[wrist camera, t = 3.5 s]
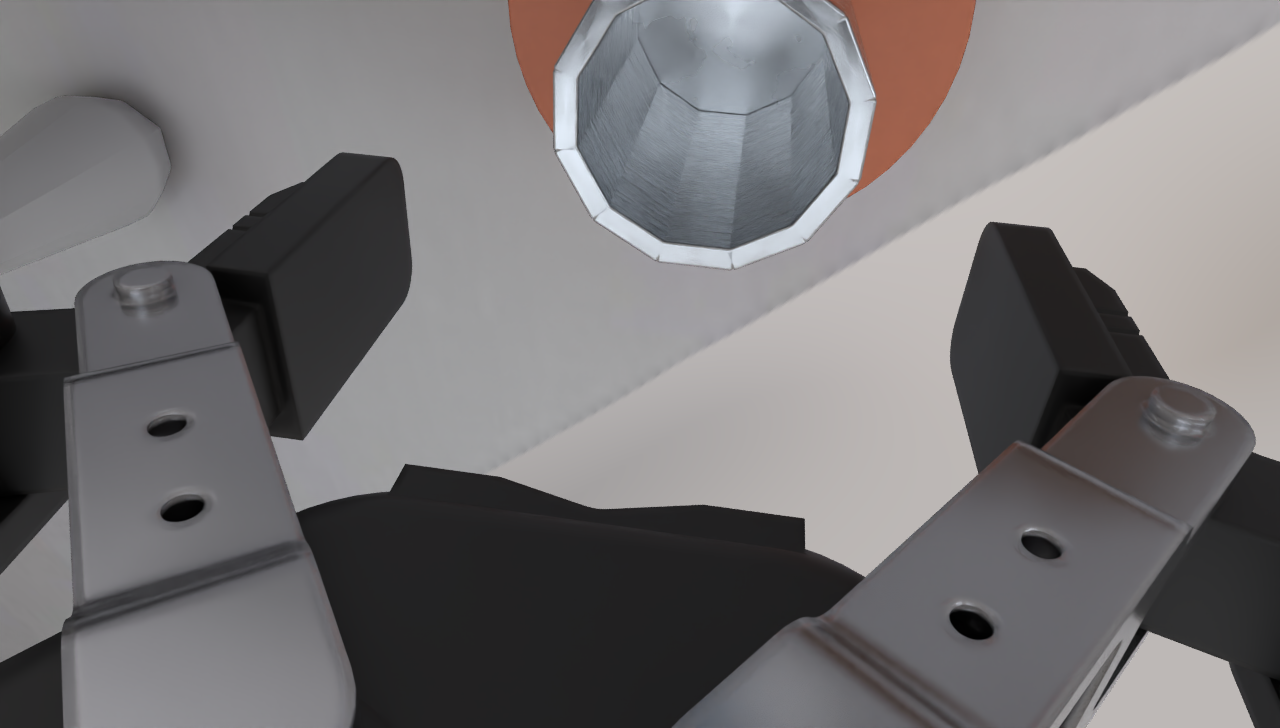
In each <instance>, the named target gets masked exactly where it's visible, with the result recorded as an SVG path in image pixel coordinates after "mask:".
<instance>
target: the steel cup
mask: <svg viewBox="0 0 1280 728" xmlns="http://www.w3.org/2000/svg"><path fill="white" fill-rule="evenodd" d="M876 104H877V100H876V91H875V88H874V84H873V80H872V76H871V73H870V69H869V65H868V61H867V57H866V54H865V50H864V46H863V42H862V39H861V35H860V31H859V27H858V24H857V20H856V16H855V12H854V8H853V5H852V1H851V0H592V2H591V4H590V5H589V7H588V9H587V11H586V12H585V14H584V16H583V17H582V19H581V21H580V22H579V24H578V26H577V28H576V29H575V31H574V33H573V34H572V36H571V38H570V40H569V41H568V43H567V45H566V46H565V48H564V50H563V51H562V53H561V55H560V57H559V58H558V60H557V62H556V63H555V65H554V70H553V148H554V150H555V154H556V156H557V158H558V160H559V162H560V163H561V165H562V167H563V169H564V171H565V172H566V174H567V176H568V178H569V179H570V181H571V183H572V185H573V187H574V188H575V190H576V192H577V194H578V196H579V197H580V199H581V201H582V203H583V204H584V206H585V208H586V210H587V212H588V213H589V215H590V217H591V218H593V220H594V221H595V222H596V223H598V224H599V225H601V226H602V227H604V228H605V229H607V230H609V231H610V232H612V233H613V234H615V235H616V236H618V237H619V238H621V239H622V240H624V241H625V242H627V243H628V244H630V245H631V246H633V247H635V248H636V249H638V250H639V251H641V252H642V253H644V254H645V255H647V256H648V257H650V258H651V259H653V260H655V261H657V260H658V262H661V263H670V264H679V265H688V266H697V267H706V268H715V269H724V270H732V269H734V270H736V269H739V268H741V267H744V266H746V265H749V264H752V263H754V262H757V261H760V260H762V259H765V258H768V257H770V256H773V255H776V254H778V253H781V252H784V251H786V250H789V249H792V248H794V247H797V246H800V245H802V244H804V243H805V242H807V241H809V240H810V239H811V238H812V236H813V235H814V234H815V233H816V232H817V231H818V230H819V228H820V227H821V226H822V225H823V224H824V223H825V222H826V220H827V219H828V218H829V217H830V216H831V215H832V214H833V213H834V211H835V210H836V209H837V208H838V207H839V206H840V205H841V203H842V202H843V201H844V200H845V199H846V198H847V197H848V195H849V194H850V193H851V192H852V191H853V190H854V189H855V187H856V186H857V185H858V184H859V181H860V180H861V177H862V172H863V167H864V163H865V158H866V153H867V148H868V143H869V138H870V133H871V128H872V123H873V118H874V113H875V109H876Z"/></svg>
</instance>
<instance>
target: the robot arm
mask: <svg viewBox="0 0 1280 728" xmlns="http://www.w3.org/2000/svg"><path fill="white" fill-rule="evenodd" d="M411 275H412V257H411V248H410V238H409V229H408V219H407V210H406V200H405V191H404V181H403V175H402V170H401V167H400V165H399V163H398V162H397V160H396V159H394V158H391V157H382V156H372V155H363V154H353V153H344V152H342V153H339V154H337V155H336V156H335V157H333V158H332V159H331V160H330V161H329V162H328V163H326V164H325V165H324V166H323V167H322V168H320V169H319V170H318V171H317V172H316V173H315V174H313V175H312V176H311V177H310V178H309V179H307V180H306V181H305V182H301V183H299V184H296V185H294V186H291V187H289V188H287V189H284V190H282V191H279V192H277V193H274V194H272V195H270V196H268V197H267V198H266V199H265V200H264V201H262V202H261V203H260V204H259V205H257V206H256V207H255V208H254V209H253V210H251V211H250V215H249V216H248V215H245V216H244V217H243V218H241V219H240V220H239V221H238V222H237V223H235V224H234V225H233V229H232V230H231V229H228V230H227V231H225V232H224V233H223V234H222V235H221V236H219V237H218V238H217V239H216V240H214V241H213V242H212V243H211V244H210V245H208V246H207V247H206V248H205V249H203V250H202V251H201V252H200V253H198V254H197V255H196V256H195V257H194V258H192V259H191V260H190V261H189V262H180V261H154V262H146V263H139V264H134V265H129V266H126V267H122V268H118V269H116V270H113V271H110V272H107V273H105V274H103V275H101V276H99V277H97V278H95V279H93V280H92V281H90V282H89V283H87V284H86V285H85V286H84V287H82V289H81V290H80V291H79V292H78V293H77V295H76V297H75V303H74V305H75V308H72V309H54V310H36V311H18V312H10V309H9V307H8V304H7V302H6V300H5V297H4V295H3V292H2V290H1V287H0V574H1V573H2V572H3V571H4V570H5V569H6V568H7V567H8V566H9V564H10V563H11V562H12V561H13V560H14V559H15V558H16V557H17V556H18V554H19V553H20V552H21V551H22V550H23V549H24V548H25V547H26V546H27V544H28V543H29V542H30V541H31V540H32V539H33V538H34V537H35V535H36V534H37V533H38V532H39V531H40V530H41V529H42V528H43V527H44V525H45V524H46V523H47V522H48V521H49V520H50V519H51V518H52V517H53V515H54V514H55V513H56V512H57V511H58V510H59V509H60V508H61V507H62V505H63V504H64V503H65V502H66V501H67V500H68V499H69V520H70V541H71V563H72V585H73V612H72V615H71V617H70V618H68V619H66V620H65V622H64V624H63V628H62V631H61V632H59V633H57V634H55V635H53V636H52V637H50V638H48V639H46V640H44V641H42V642H40V643H38V644H36V645H34V646H32V647H30V648H28V649H26V650H24V651H22V652H20V653H18V654H16V655H14V656H12V657H11V658H9V659H7V660H5V661H3V662H1V663H0V728H1086V726H1087V725H1088V724H1089V722H1090V721H1091V719H1092V718H1093V716H1094V715H1095V713H1096V712H1097V710H1098V709H1099V707H1100V706H1101V704H1102V703H1103V701H1104V700H1105V698H1106V697H1107V695H1108V694H1109V692H1110V691H1111V689H1112V688H1113V686H1114V685H1115V683H1116V682H1117V680H1118V679H1119V677H1120V676H1121V674H1122V673H1123V671H1124V669H1125V668H1126V667H1127V665H1128V664H1129V662H1130V661H1131V659H1132V658H1133V656H1134V655H1135V653H1136V652H1137V650H1138V649H1139V647H1140V646H1141V644H1142V643H1143V641H1144V640H1145V638H1146V637H1147V635H1148V633H1149V632H1152V633H1155V634H1157V635H1160V636H1163V637H1165V638H1168V639H1170V640H1173V641H1176V642H1178V643H1181V644H1184V645H1186V646H1189V647H1192V648H1194V649H1197V650H1200V651H1202V652H1205V653H1207V654H1210V655H1213V656H1215V657H1218V658H1221V659H1223V660H1226V661H1228V662H1229V664H1230V668H1231V671H1232V674H1233V676H1234V679H1235V681H1236V684H1237V686H1238V688H1239V691H1240V693H1241V695H1242V698H1243V700H1244V703H1245V705H1246V708H1247V710H1248V712H1249V714H1250V717H1251V720H1252V722H1253V725H1254V727H1255V728H1280V462H1279V461H1276V460H1273V459H1270V458H1267V457H1264V456H1261V455H1258V454H1256V453H1253V452H1252V451H1253V449H1254V447H1255V444H1256V439H1255V434H1254V431H1253V430H1252V428H1251V426H1250V425H1249V423H1248V422H1247V421H1246V420H1245V419H1244V418H1243V417H1242V415H1240V414H1239V413H1238V412H1237V411H1236V410H1235V409H1233V408H1232V407H1230V406H1229V405H1228V404H1226V403H1225V402H1223V401H1222V400H1220V399H1218V398H1216V397H1214V396H1213V395H1211V394H1208V393H1206V392H1204V391H1202V390H1200V389H1197V388H1195V387H1192V386H1189V385H1187V384H1183V383H1180V382H1176V381H1172V380H1170V379H1169V377H1168V376H1167V374H1166V373H1165V371H1164V369H1163V368H1162V366H1161V365H1160V363H1159V361H1158V360H1157V358H1156V356H1155V355H1154V353H1153V352H1152V350H1151V348H1150V347H1149V345H1148V343H1147V342H1146V340H1145V339H1144V337H1143V336H1142V335H1139V331H1140V330H1139V329H1138V327H1137V326H1136V324H1135V322H1134V321H1133V319H1132V318H1131V317H1128V311H1127V309H1126V308H1125V306H1124V305H1123V303H1122V301H1121V300H1120V298H1119V296H1118V295H1117V293H1116V292H1115V290H1114V289H1112V288H1111V287H1110V286H1108V285H1107V284H1106V283H1104V282H1103V281H1102V280H1100V279H1099V278H1098V277H1096V276H1095V275H1093V274H1092V273H1091V272H1090V271H1088V270H1087V269H1084V268H1076V267H1072V265H1071V264H1070V262H1069V260H1068V258H1067V257H1066V255H1065V253H1064V251H1063V249H1062V248H1061V246H1060V244H1059V242H1058V240H1057V239H1056V237H1055V235H1054V233H1053V232H1052V230H1051V229H1049V228H1046V227H1036V226H1025V225H1017V224H1008V223H998V222H990V223H988V224H987V225H986V227H985V229H984V231H983V232H982V235H981V238H980V240H979V243H978V247H977V250H976V253H975V257H974V260H973V263H972V267H971V270H970V274H969V277H968V281H967V284H966V287H965V291H964V294H963V298H962V301H961V304H960V308H959V311H958V314H957V318H956V321H955V325H954V329H953V334H952V340H951V349H950V364H951V371H952V375H953V378H954V382H955V386H956V390H957V394H958V397H959V401H960V405H961V409H962V413H963V416H964V420H965V424H966V428H967V432H968V436H969V439H970V443H971V447H972V451H973V454H974V458H975V462H976V466H977V469H978V475H977V476H976V477H975V478H974V479H973V480H971V481H970V482H969V483H968V484H967V485H966V486H965V487H964V488H963V489H962V490H961V491H960V492H958V493H957V494H956V495H955V496H954V497H953V498H952V499H951V500H950V501H949V502H947V503H946V504H945V505H944V506H943V507H942V508H941V509H940V510H939V511H938V512H936V513H935V514H934V515H933V516H932V517H931V518H930V519H929V520H928V521H927V522H926V523H924V524H923V525H922V526H921V527H920V528H919V529H918V530H917V531H916V532H915V533H913V534H912V535H911V536H910V537H909V538H908V539H907V540H906V541H905V542H904V543H902V544H901V545H900V546H899V547H898V548H897V549H896V550H895V551H894V552H893V553H891V554H890V555H889V556H888V557H887V558H886V559H885V560H884V561H883V562H882V563H881V564H879V565H878V567H876V568H875V569H874V570H873V571H872V572H871V573H870V574H869V575H867V576H866V577H864V576H862V575H860V574H859V573H857V572H855V571H853V570H851V569H850V568H848V567H846V566H844V565H842V564H840V563H838V562H836V561H834V560H831V559H829V558H827V557H825V556H822V555H820V554H817V553H814V552H812V551H809V550H806V549H805V519H803V518H796V517H789V516H781V515H774V514H767V513H760V512H752V511H745V510H738V509H730V508H723V507H715V506H708V505H691V506H667V507H648V508H647V507H645V508H623V509H595V508H590V507H587V506H583V505H581V504H578V503H575V502H571V501H568V500H566V499H563V498H560V497H557V496H554V495H551V494H549V493H545V492H543V491H540V490H537V489H534V488H531V487H528V486H525V485H522V484H519V483H516V482H513V481H510V480H508V479H505V478H502V477H497V476H489V475H482V474H475V473H467V472H460V471H453V470H445V469H438V468H431V467H424V466H416V465H409V464H405V466H404V467H403V469H402V471H401V473H400V475H399V476H398V478H397V480H396V482H395V484H394V485H393V487H392V489H391V491H390V492H379V493H371V494H364V495H357V496H352V497H347V498H343V499H338V500H333V501H330V502H326V503H323V504H320V505H317V506H313V507H310V508H307V509H305V510H302V511H300V512H297V513H296V512H295V509H294V506H293V503H292V500H291V497H290V494H289V491H288V487H287V484H286V481H285V478H284V475H283V472H282V469H281V466H280V463H279V460H278V457H277V454H276V451H275V448H274V445H273V442H272V439H271V436H274V437H281V438H289V439H296V440H304V438H305V437H306V436H307V434H308V433H309V431H310V430H311V429H312V427H313V426H314V425H315V423H316V422H317V420H318V419H319V418H320V416H321V415H322V414H323V412H324V411H325V410H326V408H327V407H328V405H329V404H330V403H331V401H332V400H333V399H334V397H335V396H336V394H337V393H338V392H339V390H340V389H341V388H342V386H343V385H344V384H345V382H346V381H347V379H348V378H349V377H350V375H351V374H352V373H353V371H354V370H355V368H356V367H357V366H358V364H359V363H360V362H361V360H362V359H363V357H364V356H365V355H366V353H367V352H368V351H369V349H370V348H371V347H372V345H373V344H374V342H375V341H376V340H377V338H378V337H379V336H380V334H381V333H382V331H383V330H384V329H385V327H386V326H387V325H388V323H389V322H390V321H391V319H392V318H393V316H394V315H395V314H396V312H397V311H398V310H399V308H400V307H401V305H402V304H403V303H404V301H405V299H406V297H407V294H408V291H409V287H410V282H411Z"/></svg>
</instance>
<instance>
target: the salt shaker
mask: <svg viewBox="0 0 1280 728" xmlns="http://www.w3.org/2000/svg"><path fill="white" fill-rule="evenodd" d="M170 169H171V164H170V160H169V157H168V153H167V150H166V146H165V143H164V139H163V136H162V132H161V129H160V127H158V126H157V125H155V124H154V123H153V122H151V121H150V120H149V119H147V118H146V117H144V116H143V115H142V114H140V113H139V112H138V111H136V110H135V109H134V108H132V107H131V106H129V105H128V104H127V103H125V102H124V101H121V100H113V99H106V98H98V97H87V96H66V95H65V96H60V97H55V98H53V99H51V100H49V101H47V102H45V103H44V104H42V105H40V106H38V107H36V108H34V109H33V110H32V111H30V112H29V113H28V114H27V115H26V116H24V117H23V118H22V119H21V120H20V121H18V122H17V123H16V124H15V125H14V126H12V127H11V128H10V129H9V130H8V131H6V132H5V133H4V134H3V135H2V136H0V275H2V274H4V273H7V272H9V271H12V270H15V269H17V268H20V267H22V266H25V265H27V264H30V263H33V262H35V261H38V260H40V259H43V258H45V257H48V256H50V255H53V254H56V253H58V252H61V251H63V250H66V249H68V248H71V247H74V246H76V245H79V244H81V243H84V242H86V241H89V240H92V239H94V238H97V237H99V236H102V235H104V234H107V233H110V232H112V231H115V230H117V229H120V228H122V227H125V226H127V225H130V224H132V223H134V222H136V221H138V220H140V219H142V218H144V217H146V216H148V215H149V214H150V212H151V211H152V210H153V209H154V207H155V205H156V203H157V201H158V200H159V198H160V196H161V194H162V192H163V191H164V188H165V184H166V181H167V178H168V175H169V172H170Z"/></svg>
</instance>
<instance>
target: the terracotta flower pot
mask: <svg viewBox="0 0 1280 728" xmlns="http://www.w3.org/2000/svg"><path fill="white" fill-rule="evenodd" d="M851 1H852V5H853V8H854V12H855V16H856V20H857V24H858V27H859V31H860V35H861V39H862V42H863V46H864V50H865V54H866V57H867V61H868V65H869V69H870V73H871V76H872V80H873V84H874V88H875V91H876V100H877V104H876V109H875V113H874V118H873V123H872V128H871V133H870V138H869V143H868V148H867V153H866V158H865V163H864V167H863V172H862V177H861V180H860V181H859V184H858V185H857V186H856V187H855V189H854V190H853V191H852V192H851V193H850V194H849V195H848V197H850V196H851V195H853V194H854V193H856V192H858V191H859V190H861V189H863V188H864V187H866V186H867V185H869V184H870V183H871V182H873V181H874V180H875V179H876V178H878V177H879V176H880V175H881V174H883V173H884V172H885V171H887V170H888V169H889V168H890V167H891V166H892V165H893V164H894V163H895V162H896V161H897V160H898V159H899V158H900V157H901V156H902V155H903V154H904V153H905V152H906V151H907V150H908V149H909V148H910V147H911V146H912V145H913V144H914V142H915V141H916V140H917V139H918V137H919V136H920V135H921V134H922V132H923V131H924V130H925V129H926V127H927V126H928V125H929V123H930V122H931V120H932V119H933V117H934V115H935V114H936V112H937V111H938V109H939V107H940V106H941V104H942V102H943V101H944V99H945V98H946V96H947V93H948V91H949V89H950V87H951V85H952V83H953V80H954V78H955V76H956V74H957V72H958V70H959V67H960V64H961V61H962V58H963V55H964V52H965V49H966V45H967V42H968V39H969V36H970V30H971V25H972V20H973V14H974V9H975V3H976V0H851ZM591 2H592V0H508V5H509V16H510V27H511V32H512V37H513V41H514V46H515V51H516V55H517V59H518V62H519V65H520V68H521V71H522V73H523V76H524V79H525V82H526V85H527V87H528V89H529V91H530V93H531V95H532V98H533V100H534V102H535V104H536V106H537V108H538V110H539V112H540V113H541V115H542V117H543V118H544V120H545V121H546V123H547V124H548V126H549V128H550V129H551V131H552V132H553V70H554V65H555V63H556V62H557V60H558V58H559V57H560V55H561V53H562V51H563V50H564V48H565V46H566V45H567V43H568V41H569V40H570V38H571V36H572V34H573V33H574V31H575V29H576V28H577V26H578V24H579V22H580V21H581V19H582V17H583V16H584V14H585V12H586V11H587V9H588V7H589V5H590V4H591ZM848 197H847V198H848Z"/></svg>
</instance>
